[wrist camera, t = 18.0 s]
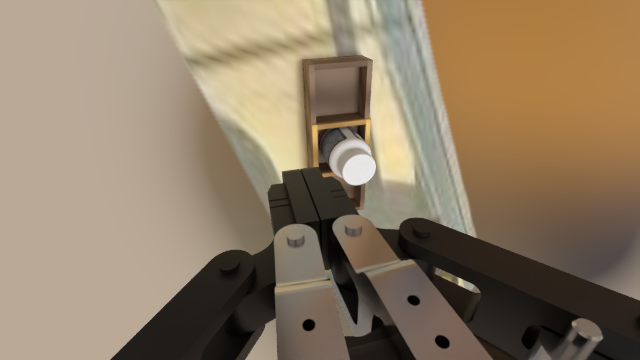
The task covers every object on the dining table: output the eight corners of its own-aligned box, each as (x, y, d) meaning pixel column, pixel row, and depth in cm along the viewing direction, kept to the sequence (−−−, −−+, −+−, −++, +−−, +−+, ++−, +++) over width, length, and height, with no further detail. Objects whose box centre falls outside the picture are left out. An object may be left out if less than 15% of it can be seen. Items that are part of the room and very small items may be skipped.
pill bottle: (316, 157, 42) (333, 192, 35) (318, 121, 40) (338, 150, 32) (352, 156, 43) (377, 188, 36) (357, 120, 41) (384, 148, 33)
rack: (302, 59, 36) (309, 65, 33) (364, 55, 38) (376, 60, 34) (310, 203, 47) (316, 219, 44) (357, 196, 48) (366, 210, 45)
